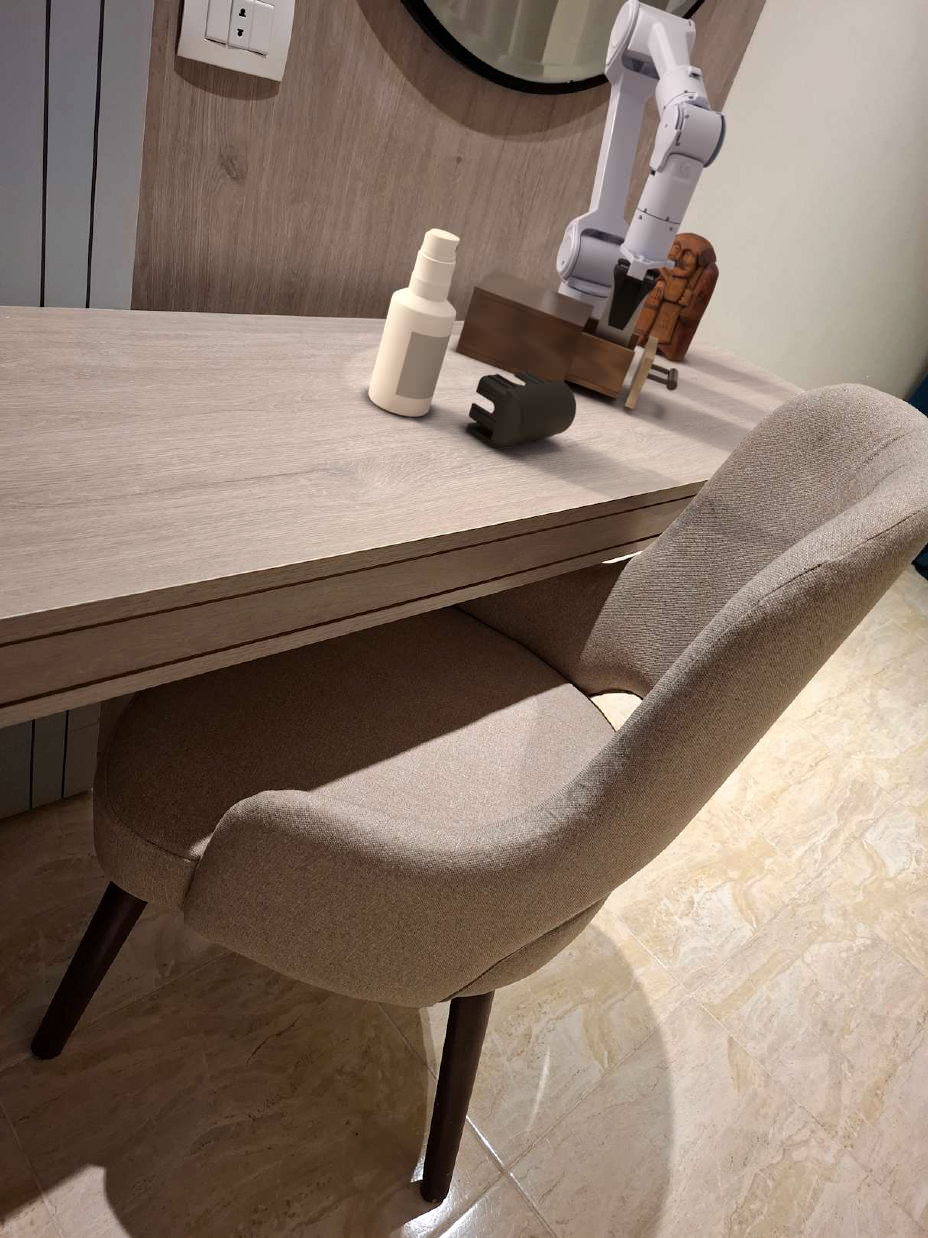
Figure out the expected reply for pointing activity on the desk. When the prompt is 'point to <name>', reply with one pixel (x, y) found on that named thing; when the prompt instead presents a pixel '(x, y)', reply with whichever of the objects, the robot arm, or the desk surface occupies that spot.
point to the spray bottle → (417, 331)
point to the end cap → (521, 409)
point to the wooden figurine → (679, 296)
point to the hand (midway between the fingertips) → (616, 323)
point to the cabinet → (523, 326)
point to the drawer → (614, 365)
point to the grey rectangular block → (614, 333)
